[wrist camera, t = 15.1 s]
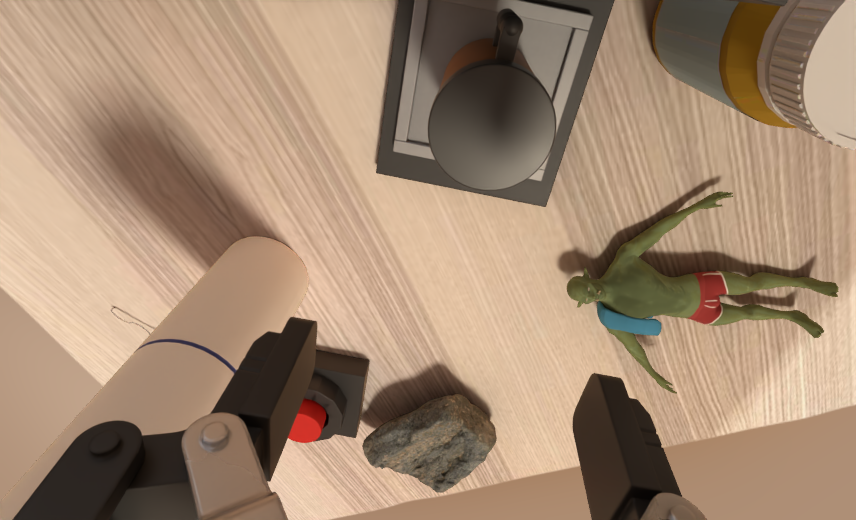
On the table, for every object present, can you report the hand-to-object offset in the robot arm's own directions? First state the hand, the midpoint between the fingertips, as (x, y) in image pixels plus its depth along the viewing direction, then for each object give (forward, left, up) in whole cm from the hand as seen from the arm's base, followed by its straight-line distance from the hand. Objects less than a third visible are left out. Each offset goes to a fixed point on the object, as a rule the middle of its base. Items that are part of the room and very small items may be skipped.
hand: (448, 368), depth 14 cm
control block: (-9, -25, -22) cm, 34 cm away
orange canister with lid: (+1, +4, -21) cm, 21 cm away
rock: (+2, -27, -22) cm, 35 cm away
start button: (-8, -25, -18) cm, 32 cm away
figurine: (+18, -7, -22) cm, 30 cm away
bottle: (+12, +10, -22) cm, 27 cm away
